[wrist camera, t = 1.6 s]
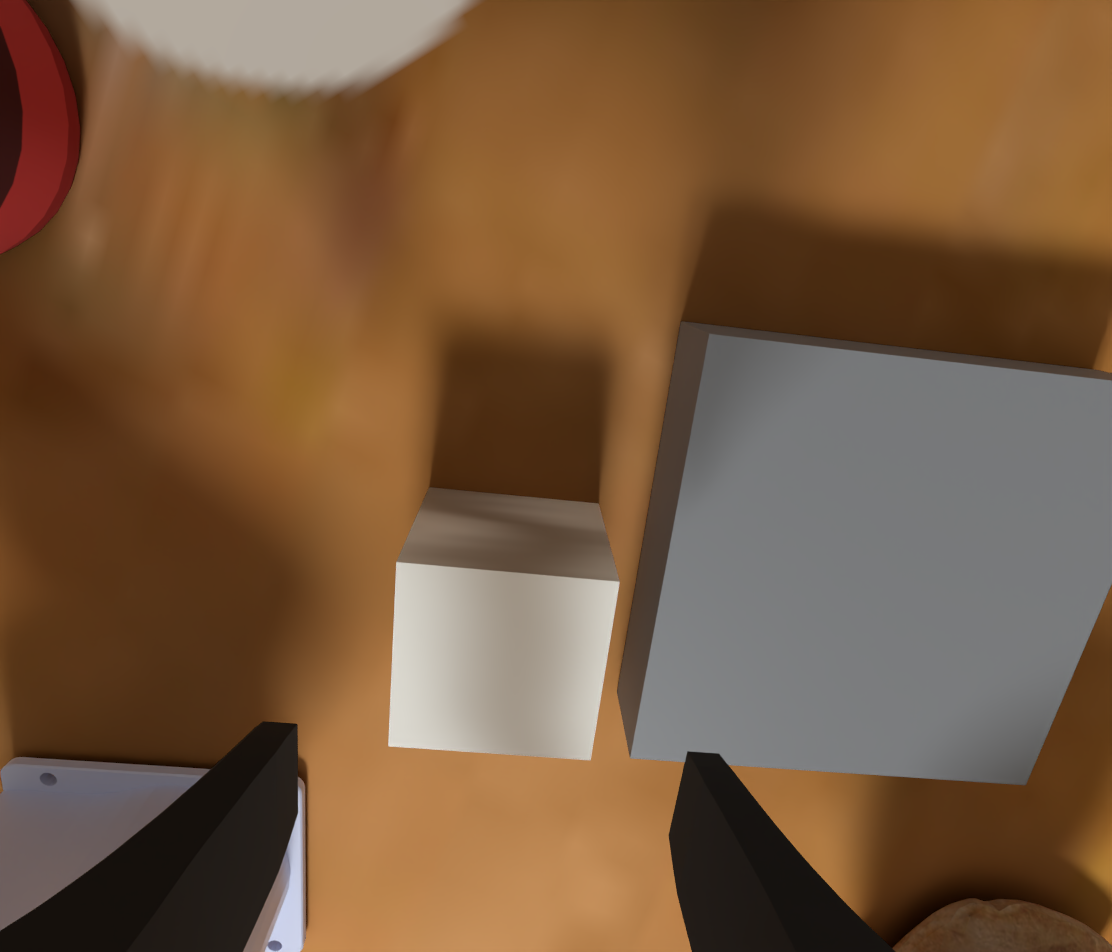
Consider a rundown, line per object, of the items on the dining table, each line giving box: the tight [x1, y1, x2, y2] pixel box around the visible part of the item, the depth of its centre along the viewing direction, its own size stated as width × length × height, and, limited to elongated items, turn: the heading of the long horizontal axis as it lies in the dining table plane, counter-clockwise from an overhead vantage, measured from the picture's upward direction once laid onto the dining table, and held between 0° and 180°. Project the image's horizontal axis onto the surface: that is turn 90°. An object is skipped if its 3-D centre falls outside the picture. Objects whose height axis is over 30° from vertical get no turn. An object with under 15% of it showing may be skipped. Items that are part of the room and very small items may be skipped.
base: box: [617, 321, 1112, 785], centre depth 19 cm, size 12×12×3 cm
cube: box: [388, 487, 620, 760], centre depth 18 cm, size 5×5×5 cm
